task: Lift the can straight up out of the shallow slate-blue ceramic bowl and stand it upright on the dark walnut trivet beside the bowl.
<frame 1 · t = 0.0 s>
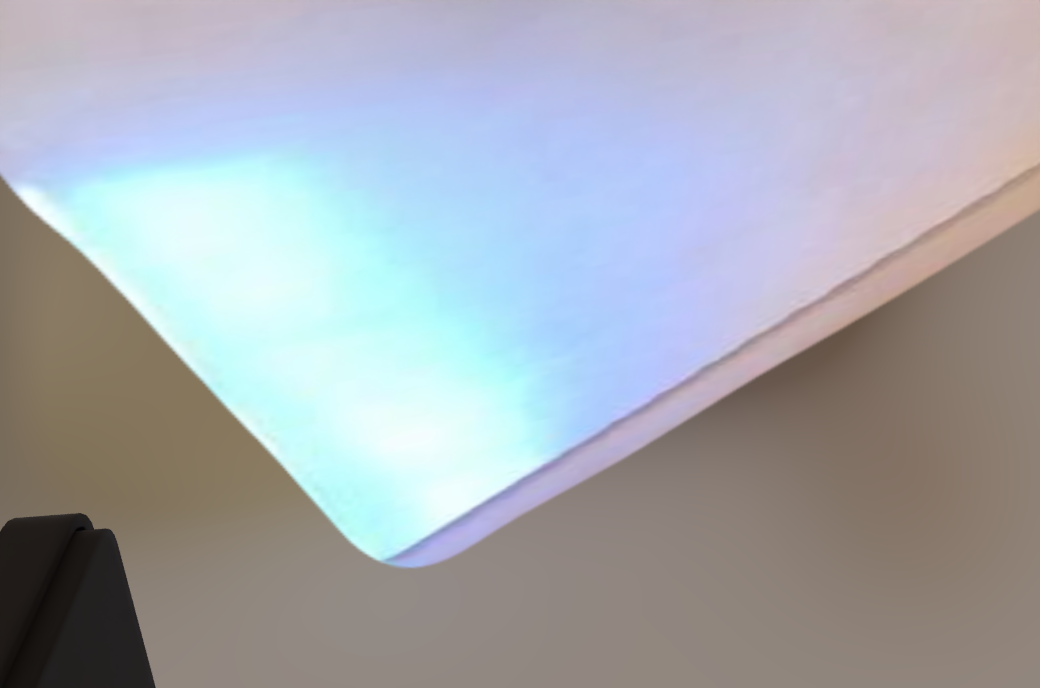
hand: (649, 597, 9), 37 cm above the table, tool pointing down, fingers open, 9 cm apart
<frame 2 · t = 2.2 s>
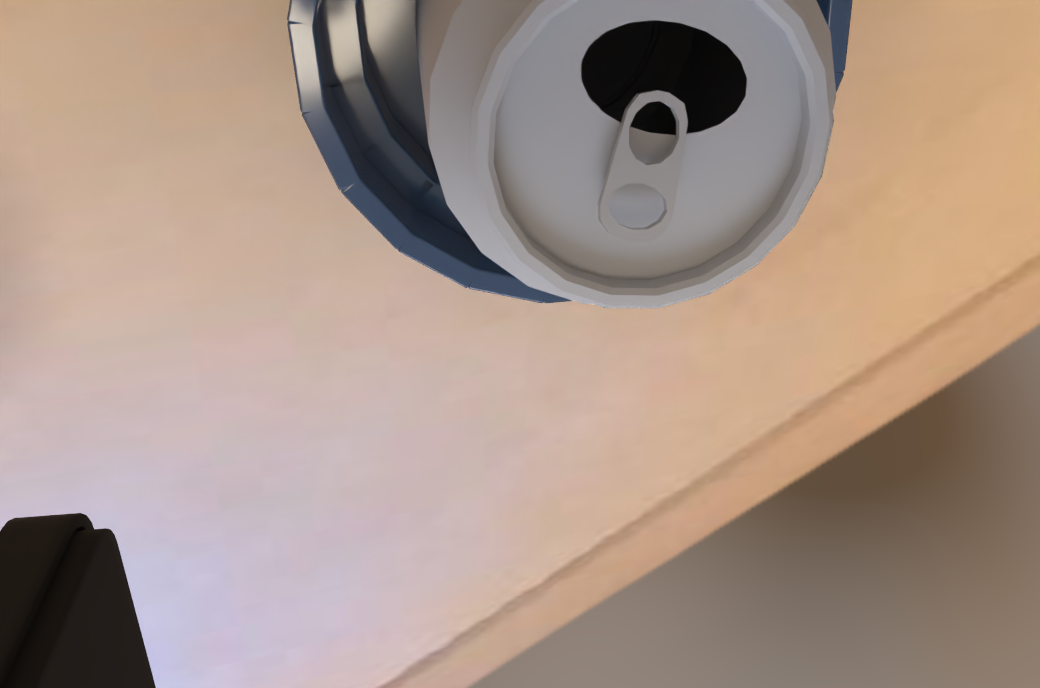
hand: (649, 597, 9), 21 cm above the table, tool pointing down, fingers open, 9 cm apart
can: (551, 14, 27), resting on bowl
bowl: (551, 13, 27), on the table
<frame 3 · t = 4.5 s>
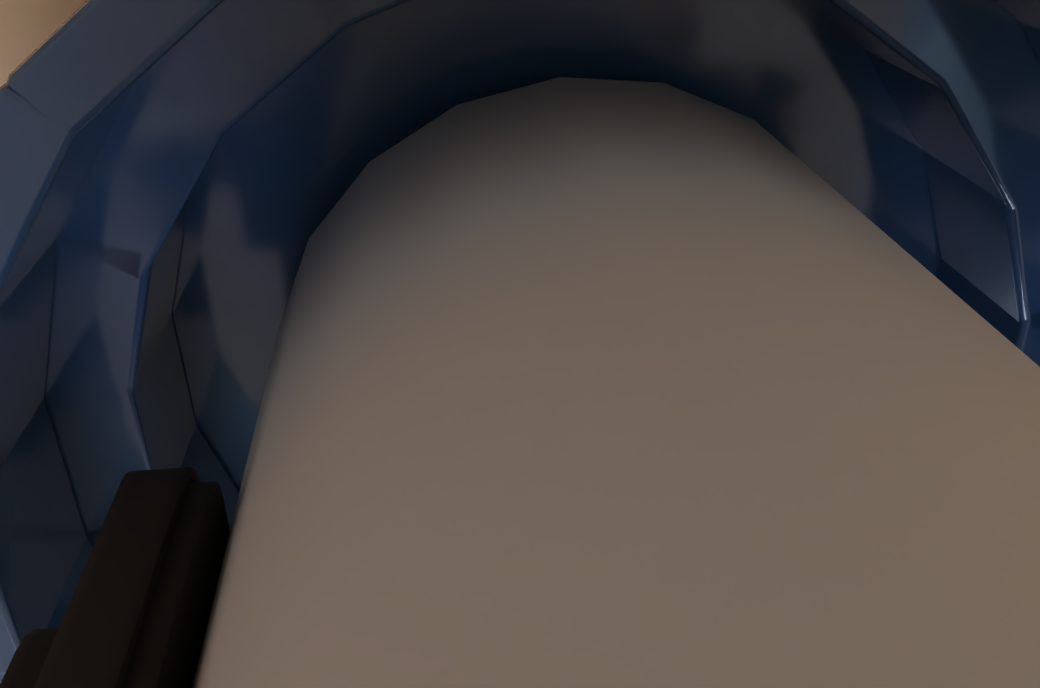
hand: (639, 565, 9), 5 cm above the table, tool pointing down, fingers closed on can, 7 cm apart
can: (565, 332, 14), resting on bowl, touching gripper
bowl: (564, 328, 14), on the table
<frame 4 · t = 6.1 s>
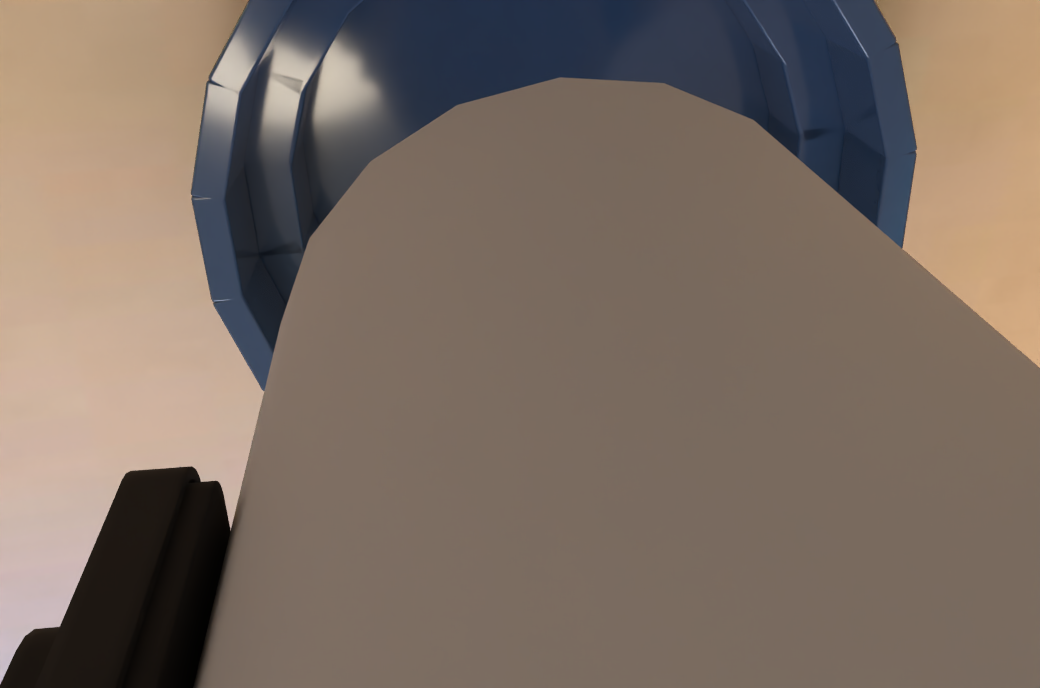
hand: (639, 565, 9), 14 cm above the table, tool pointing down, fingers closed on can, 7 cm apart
can: (565, 332, 14), point 10 cm above the table, touching gripper
bowl: (538, 157, 22), on the table
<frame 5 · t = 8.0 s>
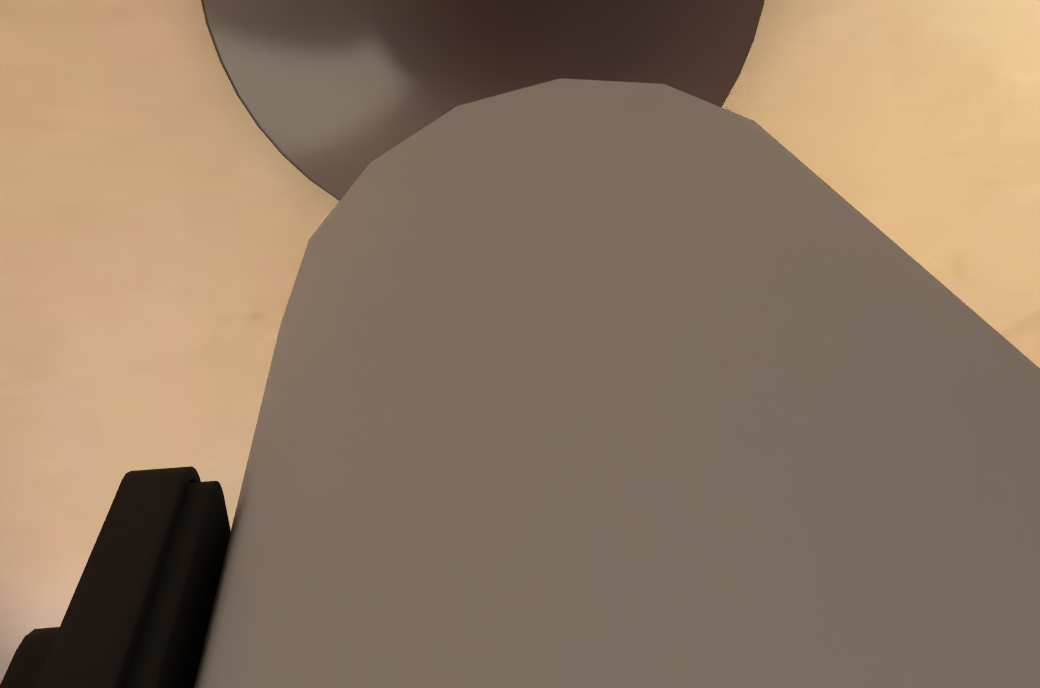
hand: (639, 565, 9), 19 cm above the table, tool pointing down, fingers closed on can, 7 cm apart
can: (565, 333, 14), point 14 cm above the table, touching gripper
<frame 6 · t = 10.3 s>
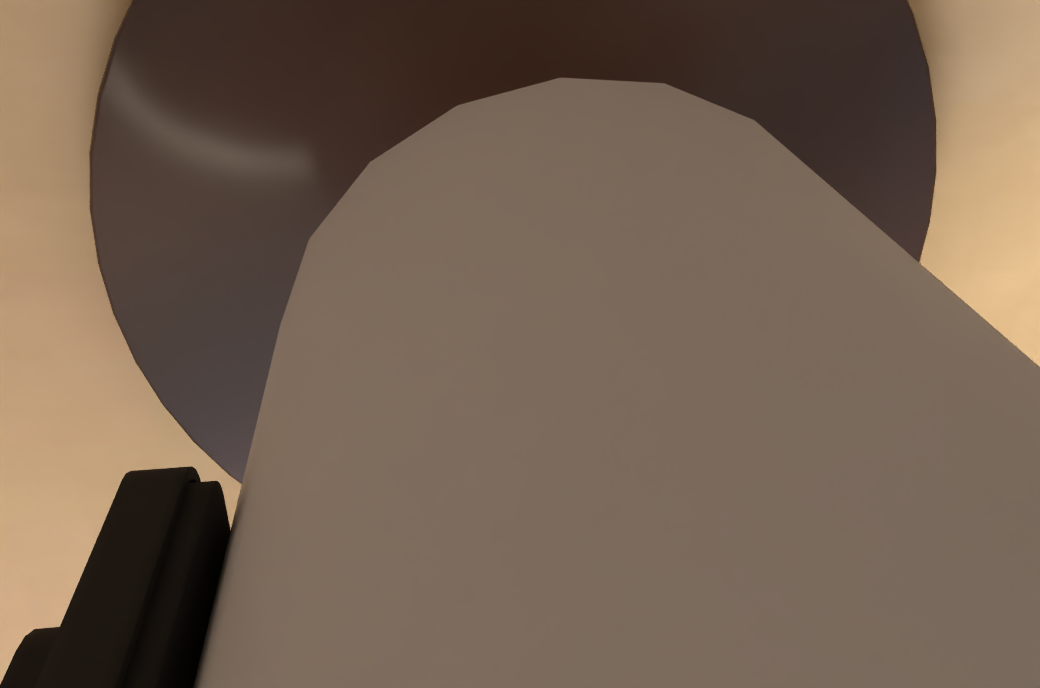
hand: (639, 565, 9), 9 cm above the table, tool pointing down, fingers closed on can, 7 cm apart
can: (565, 332, 14), point 4 cm above the table, touching gripper
trivet: (524, 225, 17), on the table
when the fingers open (5 cm above the table, at t = 11.8 s): can stays where it is, resting on trivet.
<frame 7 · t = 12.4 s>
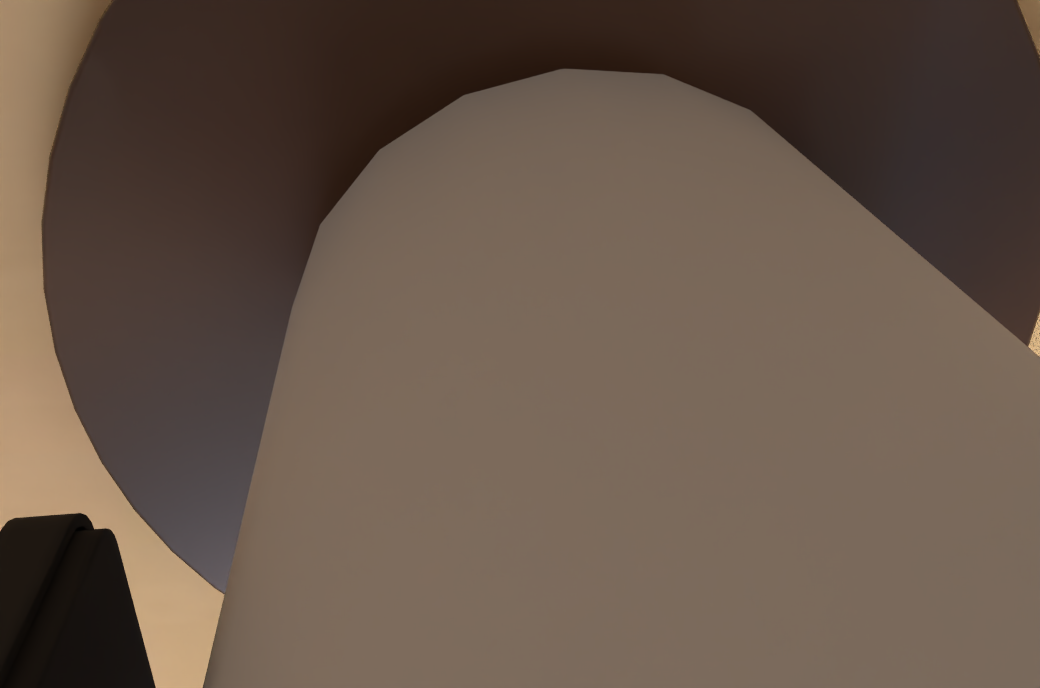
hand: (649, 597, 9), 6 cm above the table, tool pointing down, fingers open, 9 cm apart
can: (567, 318, 14), point 1 cm above the table, touching trivet
trivet: (562, 300, 15), on the table
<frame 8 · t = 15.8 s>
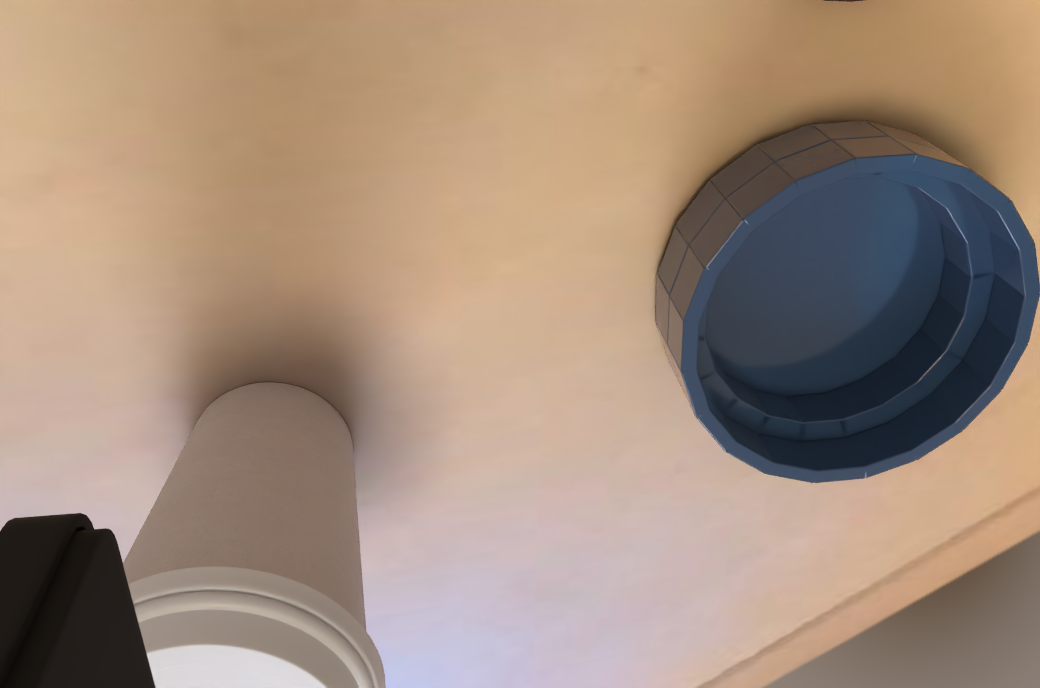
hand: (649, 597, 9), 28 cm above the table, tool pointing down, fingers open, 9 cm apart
coffee cup: (274, 447, 41), on the table
bowl: (815, 281, 40), on the table
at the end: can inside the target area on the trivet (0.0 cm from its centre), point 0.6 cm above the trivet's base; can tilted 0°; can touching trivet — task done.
